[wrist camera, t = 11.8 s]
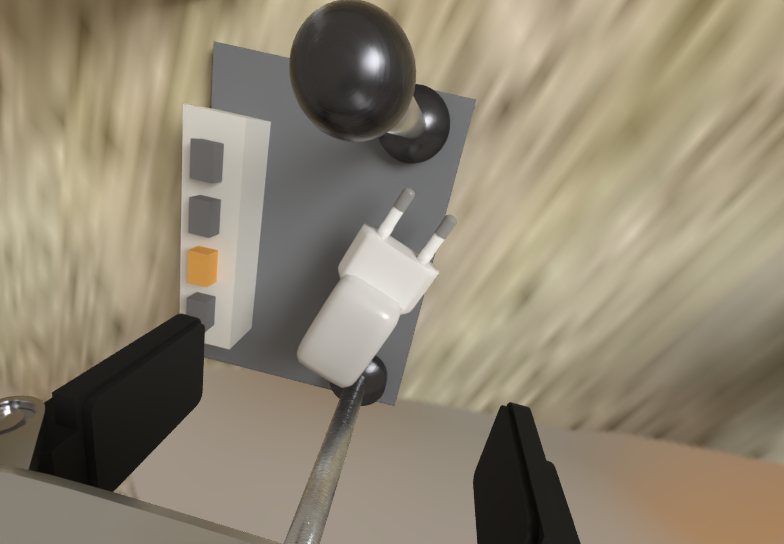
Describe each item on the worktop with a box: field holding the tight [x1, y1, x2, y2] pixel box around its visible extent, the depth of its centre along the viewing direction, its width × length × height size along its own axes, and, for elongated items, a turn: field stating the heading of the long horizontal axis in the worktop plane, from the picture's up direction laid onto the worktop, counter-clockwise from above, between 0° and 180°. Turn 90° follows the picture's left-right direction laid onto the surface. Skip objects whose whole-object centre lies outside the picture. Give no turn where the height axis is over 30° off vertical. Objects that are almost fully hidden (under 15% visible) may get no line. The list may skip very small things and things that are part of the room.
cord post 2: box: [284, 355, 387, 544], centre depth 19 cm, size 4×4×17 cm
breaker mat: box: [180, 42, 476, 406], centre depth 23 cm, size 15×21×5 cm
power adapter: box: [297, 187, 457, 388], centre depth 21 cm, size 11×5×6 cm, turn 148°
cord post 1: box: [289, 0, 450, 164], centre depth 13 cm, size 4×4×17 cm
